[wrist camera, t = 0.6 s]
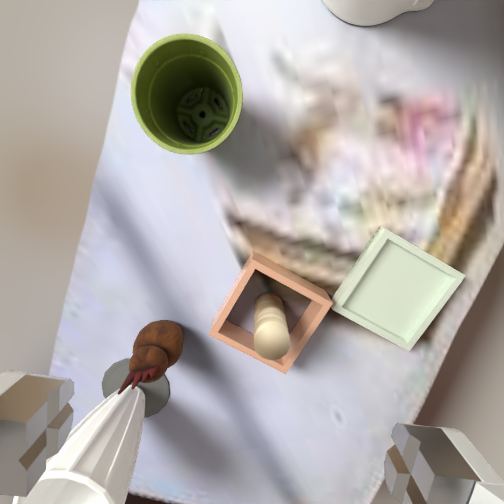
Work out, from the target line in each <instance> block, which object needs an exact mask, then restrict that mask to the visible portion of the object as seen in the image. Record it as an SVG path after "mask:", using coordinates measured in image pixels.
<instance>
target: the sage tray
mask: <svg viewBox="0 0 504 504" xmlns="http://www.w3.org/2000/svg"><path fill="white" fill-rule="evenodd" d="M464 278H465V275H464V274H462V273H460V272H459V271H457V270H455V269H453V268H452V267H450V266H448V265H447V264H445V263H443V262H441V261H440V260H438V259H436V258H435V257H433V256H431V255H429V254H428V253H426V252H424V251H423V250H421V249H419V248H418V247H416V246H414V245H412V244H411V243H409V242H407V241H406V240H404V239H402V238H400V237H399V236H397V235H395V234H394V233H392V232H390V231H388V230H387V229H385V228H382V227H380V226H379V228H378V229H377V231H376V232H375V234H374V235H373V237H372V238H371V240H370V241H369V243H368V244H367V246H366V247H365V249H364V250H363V252H362V253H361V255H360V257H359V258H358V260H357V261H356V263H355V264H354V266H353V267H352V269H351V270H350V272H349V273H348V275H347V276H346V278H345V279H344V281H343V282H342V284H341V285H340V287H339V288H338V290H337V291H336V293H335V294H334V296H333V297H332V299H331V301H332V302H333V304H332V305H331V308H332V310H334V311H336V312H338V313H339V314H341V315H343V316H345V317H347V318H349V319H350V320H352V321H354V322H356V323H358V324H360V325H362V326H363V327H365V328H367V329H369V330H371V331H373V332H374V333H376V334H378V335H380V336H382V337H384V338H385V339H387V340H389V341H391V342H393V343H395V344H396V345H398V346H400V347H402V348H404V349H406V350H407V351H410V350H411V349H412V347H413V346H414V345H415V343H416V342H417V341H418V339H419V338H420V336H421V335H422V334H423V332H424V331H425V330H426V328H427V327H428V326H429V324H430V323H431V322H432V320H433V319H434V318H435V316H436V315H437V314H438V312H439V311H440V310H441V308H442V307H443V306H444V304H445V303H446V302H447V300H448V299H449V298H450V296H451V295H452V294H453V292H454V291H455V290H456V288H457V287H458V286H459V284H460V283H461V282H462V280H463V279H464Z"/></svg>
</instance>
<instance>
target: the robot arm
mask: <svg viewBox="0 0 504 504" xmlns="http://www.w3.org/2000/svg"><path fill="white" fill-rule="evenodd" d="M322 1H323V3H324V4H325V5H326V7H327V8H328V9H329V10H330V11H331V12H332V13H333V14H334V15H336V16H337V17H338V18H340V19H342V20H344V21H346V22H348V23H351V24H355V25H361V26H370V25H377V24H380V23H384V22H386V21H388V20H390V19H392V18H394V17H396V16H398V15H399V14H401V13H404V12H406V11H418V10H423V9H426V8H428V7H429V6H430V5H431V4H432V3H433V1H434V0H322ZM73 395H74V382H73V381H72V380H71V379H67V378H61V377H55V376H48V375H41V374H35V373H28V372H21V371H14V370H10V371H5V372H3V373H2V374H1V375H0V495H9V496H20V497H27V496H28V494H29V493H30V491H31V490H32V489H33V487H34V486H35V484H36V483H37V482H38V480H39V479H40V478H41V476H42V475H43V473H44V472H45V471H46V460H47V459H49V458H50V457H52V456H54V455H56V454H57V453H58V452H59V451H60V450H61V448H62V447H63V445H64V444H65V442H66V440H67V437H68V435H69V433H70V430H71V427H72V422H73V411H74V410H73V409H72V407H71V406H70V405H69V403H68V401H69V400H70V399H71V398H72V397H73ZM391 437H392V439H393V441H394V443H395V445H394V446H392V447H391V448H390V449H389V450H388V451H387V453H386V457H385V462H384V471H385V479H386V483H387V486H388V489H389V491H390V493H391V496H393V497H394V498H395V499H396V500H397V501H398V502H399V503H400V504H504V482H503V481H502V479H501V478H500V477H499V476H498V475H497V473H496V472H495V471H494V470H493V468H492V467H491V466H490V465H489V464H488V462H487V461H486V460H485V459H484V458H483V456H481V454H480V453H479V452H478V451H477V449H476V448H475V447H474V446H473V445H472V443H471V442H470V441H469V440H468V438H467V437H466V436H465V435H464V434H463V433H462V432H461V431H459V430H457V429H453V428H443V427H427V426H420V425H412V424H404V423H397V424H396V425H395V426H394V428H393V431H392V435H391Z"/></svg>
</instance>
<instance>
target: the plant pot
mask: <svg viewBox="0 0 504 504" xmlns="http://www.w3.org/2000/svg"><path fill="white" fill-rule="evenodd" d="M202 89H203V92H202V96H201V90H202ZM194 94H196V98H194V99H193V100H192V101H190V102H189V103H188V102H187V99H188V98H189V97H190V96H192V95H194ZM215 98H216V100H217V101H218V102H219V103H220V104H221V107H222V108H221V109H220V108H219V106H218V105H217V103H216V102H215V101H214V100H215ZM242 100H243V92H242V84H241V79H240V76H239V73H238V71H237V69H236V66H235V65H234V63H233V61H232V60H231V58H230V57H229V56H228V54H227V53H226V52H225V51H224V50H223V49H222V48H221V47H219V46H218V45H217V44H216V43H214V42H212V41H211V40H209V39H207V38H204V37H201V36H198V35H194V34H176V35H171V36H168V37H165V38H163V39H161V40H159V41H157V42H156V43H154V44H153V45H152V46H150V47H149V48H148V49H147V50H146V51H145V53H144V54H143V55H142V57H141V58H140V60H139V61H138V63H137V66H136V68H135V70H134V73H133V77H132V83H131V101H132V106H133V110H134V113H135V116H136V118H137V120H138V123H139V124H140V126H141V127H142V129H143V130H144V132H145V133H146V134H147V135H148V137H149V138H150V139H151V140H153V141H154V142H155V143H156V144H158V145H159V146H161V147H162V148H164V149H166V150H169V151H171V152H175V153H179V154H199V153H203V152H206V151H209V150H211V149H213V148H215V147H217V146H218V145H219V144H221V143H222V142H223V141H224V140H225V139H226V138H227V137H228V136H229V135H230V134H231V132H232V131H233V129H234V127H235V126H236V124H237V121H238V119H239V116H240V113H241V108H242ZM201 112H204V113H205V117H203V118H201V117H200V113H201ZM181 115H182V116H181ZM185 122H187V124H188V125H189V127H190V128H191V129H192V130H193V131H191V132H189V131H188V130H187V128H186V127H185V125H184V123H185ZM217 127H218V128H219V131H218V132H217V133H216V134H214V135H213V136H210V133H211V132H212V131H214V130H216V128H217Z"/></svg>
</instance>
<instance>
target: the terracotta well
mask: <svg viewBox="0 0 504 504" xmlns="http://www.w3.org/2000/svg"><path fill="white" fill-rule="evenodd" d="M255 269H257V270H258V271H260V272H262V273H264V274H266V275H268V276H269V277H271V278H273V279H275V280H277V281H279V282H281V283H282V284H284V285H286V286H288V287H290V288H292V289H293V290H295V291H297V292H299V293H301V294H303V295H304V296H306V297H308V298H310V299H312V301H311V303H310V305H309V306H308V308H307V309H306V311H305V312H304V314H303V315H302V317H301V318H300V320H299V322H298V323H297V325H296V326H295V328H294V329H293V331H292V332H291V334H290V336H289V337H290V342H291V345H290V349H289V351H288V353H287V354H286V355H285V356H284V357H282V358H280V359H277V360H267V359H264V358H262V357H261V356H259V355H258V353H257V352H256V350H255V348H254V334H252V333H250V332H248V331H246V330H244V329H242V328H240V327H238V326H236V325H234V324H233V323H231V322H229V321H227V320H225V319H226V318H227V316H228V314H229V313H230V311H231V309H232V308H233V306H234V304H235V302H236V301H237V299H238V297H239V296H240V294H241V292H242V291H243V289H244V287H245V285H246V284H247V282H248V280H249V279H250V277H251V275H252V274H253V272H254V270H255ZM332 304H333V302H332V301H331V299H330V297H329V296H328V294H327V292H326V291H325V290H323V289H321V288H320V287H318V286H316V285H314V284H312V283H310V282H309V281H307V280H305V279H303V278H301V277H299V276H298V275H296V274H294V273H292V272H290V271H289V270H287V269H285V268H283V267H281V266H279V265H278V264H276V263H274V262H272V261H270V260H269V259H267V258H265V257H263V256H261V255H259V254H258V253H256V252H254V251H252V253H251V255H250V257H249V258H248V260H247V262H246V264H245V265H244V267H243V269H242V271H241V272H240V274H239V276H238V277H237V279H236V281H235V283H234V284H233V286H232V288H231V290H230V291H229V293H228V295H227V296H226V298H225V300H224V302H223V303H222V305H221V307H220V309H219V310H218V312H217V314H216V316H215V317H214V319H213V321H212V325H211V328H210V332H209V335H210V336H212V337H214V338H216V339H218V340H220V341H222V342H224V343H226V344H228V345H230V346H232V347H234V348H235V349H237V350H239V351H241V352H243V353H245V354H247V355H249V356H251V357H253V358H255V359H257V360H259V361H261V362H263V363H265V364H267V365H269V366H271V367H273V368H275V369H277V370H279V371H280V372H282V373H284V374H286V373H287V372H288V370H289V369H290V367H291V366H292V364H293V363H294V361H295V360H296V358H297V357H298V355H299V354H300V352H301V351H302V349H303V348H304V346H305V345H306V343H307V342H308V340H309V339H310V337H311V336H312V334H313V333H314V331H315V330H316V328H317V326H318V325H319V323H320V322H321V320H322V319H323V317H324V316H325V314H326V313H327V311H328V310H329V308H330V307H331V305H332Z"/></svg>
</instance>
